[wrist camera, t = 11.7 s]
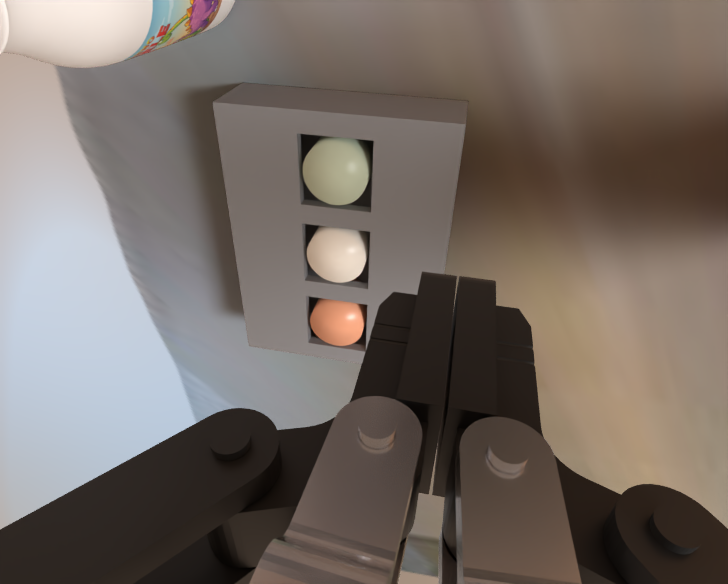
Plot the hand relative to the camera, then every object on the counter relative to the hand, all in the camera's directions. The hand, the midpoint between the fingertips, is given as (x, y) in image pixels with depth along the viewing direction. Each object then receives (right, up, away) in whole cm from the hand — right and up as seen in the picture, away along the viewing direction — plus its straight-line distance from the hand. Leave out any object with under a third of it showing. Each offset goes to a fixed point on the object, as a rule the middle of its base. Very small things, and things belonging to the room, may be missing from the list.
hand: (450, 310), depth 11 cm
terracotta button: (-3, 0, +33) cm, 33 cm away
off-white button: (-3, +5, +29) cm, 30 cm away
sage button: (-3, +10, +26) cm, 28 cm away
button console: (-3, +6, +30) cm, 31 cm away
